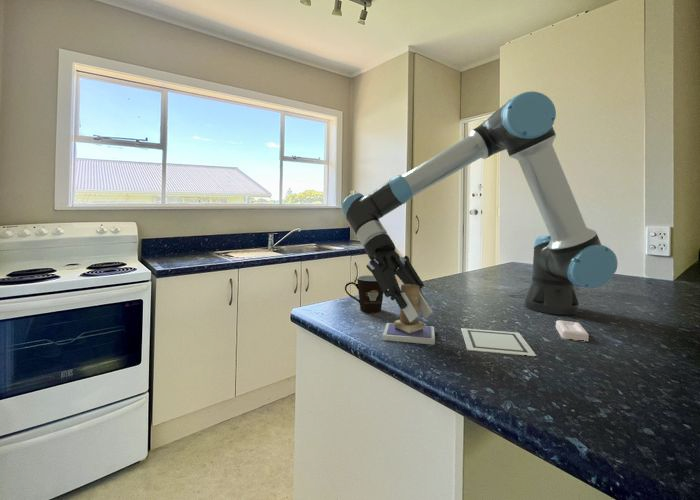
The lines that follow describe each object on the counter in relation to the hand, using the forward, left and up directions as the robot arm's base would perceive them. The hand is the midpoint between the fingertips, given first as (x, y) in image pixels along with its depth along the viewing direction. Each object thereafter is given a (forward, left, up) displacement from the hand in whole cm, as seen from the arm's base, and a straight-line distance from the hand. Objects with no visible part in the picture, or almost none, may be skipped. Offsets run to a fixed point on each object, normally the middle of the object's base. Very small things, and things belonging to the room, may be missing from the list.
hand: (421, 317), depth 80 cm
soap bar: (-37, -13, -6) cm, 40 cm away
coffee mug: (+17, -21, -6) cm, 28 cm away
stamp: (+3, -2, -4) cm, 6 cm away
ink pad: (+3, -2, -6) cm, 7 cm away
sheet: (-17, -3, -6) cm, 18 cm away
